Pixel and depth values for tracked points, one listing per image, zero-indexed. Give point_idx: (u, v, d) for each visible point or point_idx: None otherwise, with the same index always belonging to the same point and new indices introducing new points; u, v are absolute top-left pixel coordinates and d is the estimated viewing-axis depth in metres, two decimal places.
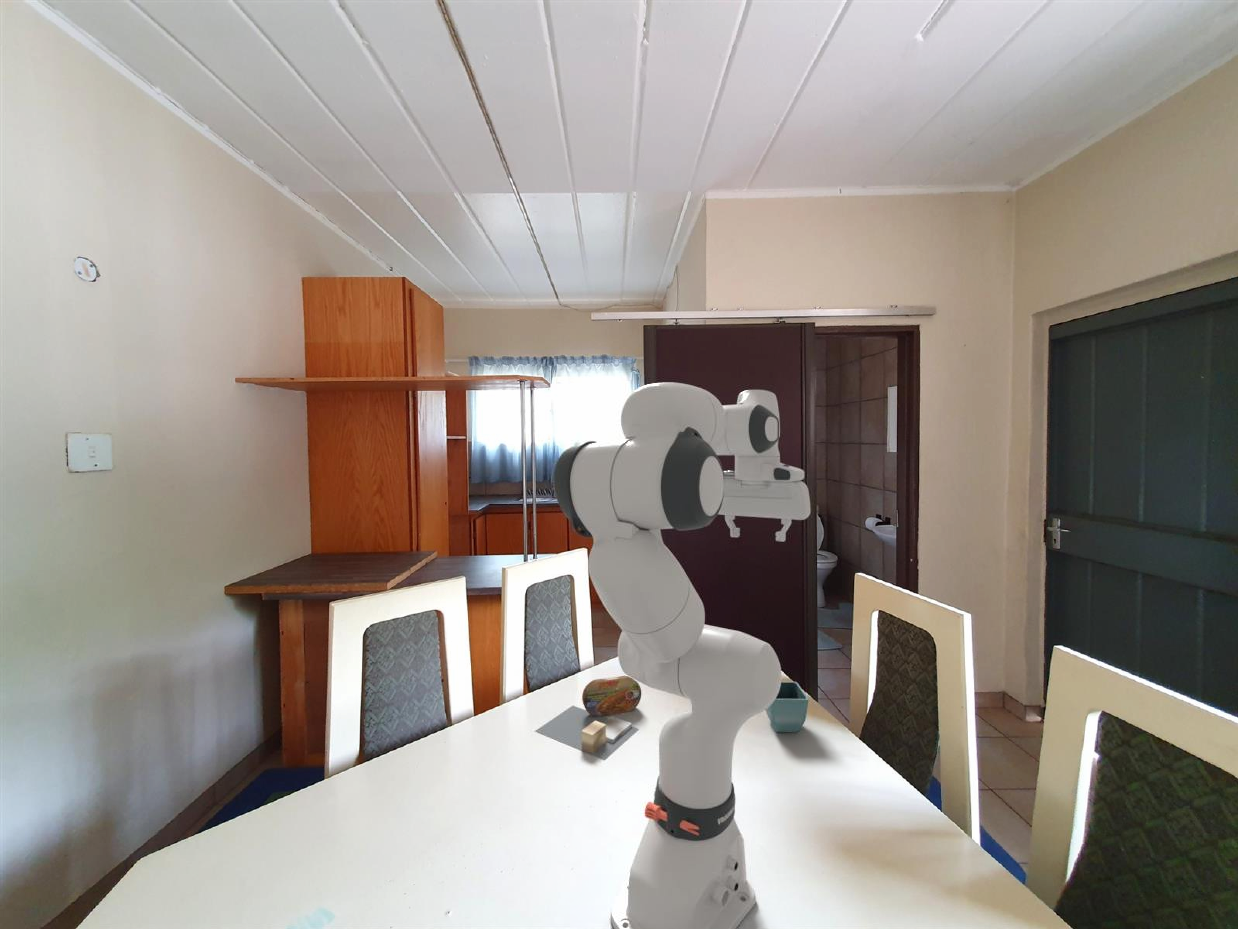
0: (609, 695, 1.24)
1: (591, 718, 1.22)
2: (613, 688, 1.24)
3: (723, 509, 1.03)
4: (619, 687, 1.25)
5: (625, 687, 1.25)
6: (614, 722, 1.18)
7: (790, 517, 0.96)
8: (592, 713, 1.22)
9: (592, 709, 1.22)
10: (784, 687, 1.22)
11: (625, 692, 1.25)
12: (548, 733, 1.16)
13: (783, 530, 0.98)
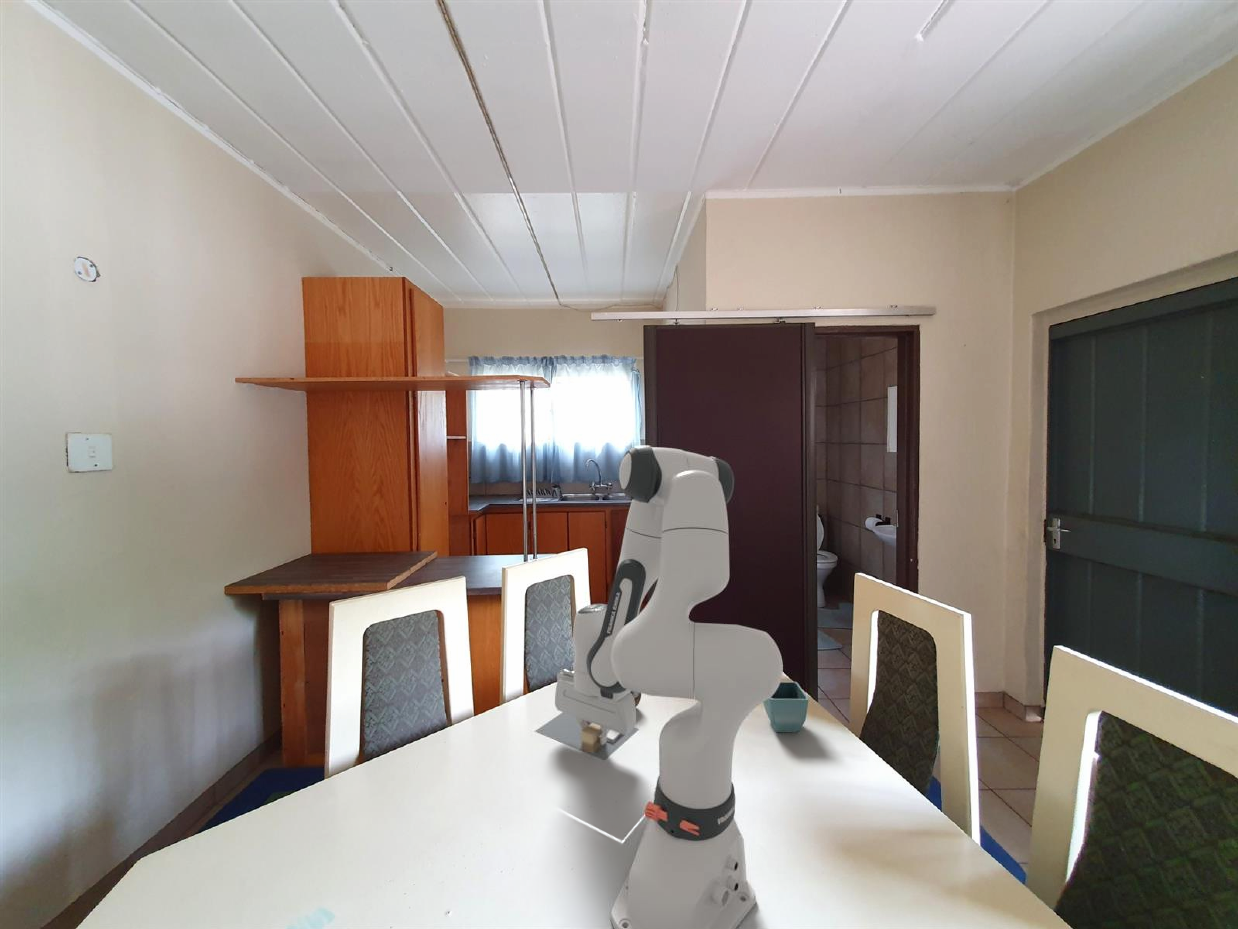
0: None
1: None
2: None
3: (565, 708, 1.12)
4: None
5: None
6: None
7: (615, 730, 1.05)
8: None
9: None
10: (784, 687, 1.22)
11: None
12: (548, 733, 1.16)
13: (602, 735, 1.08)
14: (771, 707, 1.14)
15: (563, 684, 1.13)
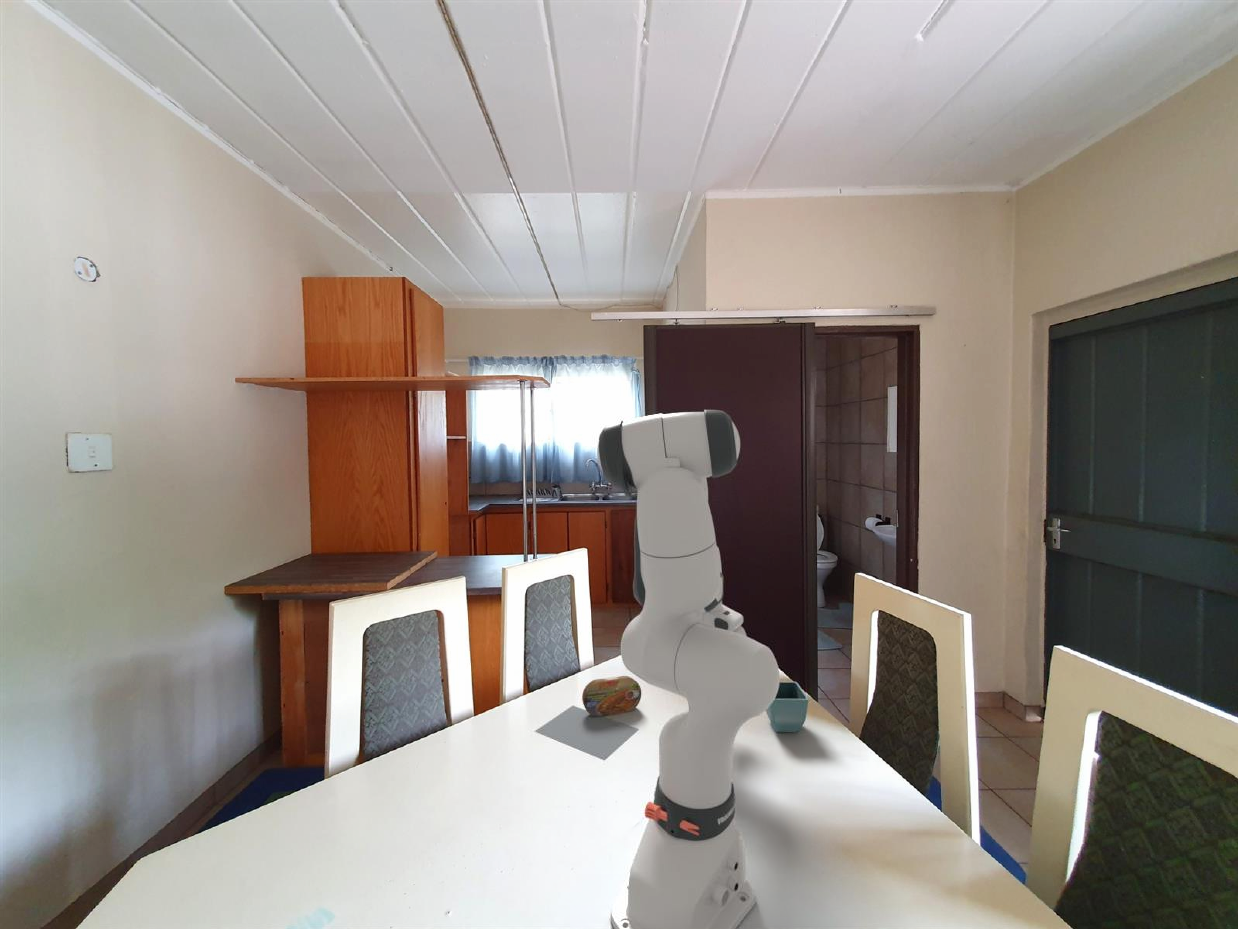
0: (609, 695, 1.24)
1: (591, 718, 1.22)
2: (613, 688, 1.24)
3: None
4: (619, 687, 1.25)
5: (625, 687, 1.25)
6: None
7: None
8: (592, 713, 1.22)
9: (592, 709, 1.22)
10: (784, 687, 1.22)
11: (625, 692, 1.25)
12: (548, 733, 1.16)
13: None
14: (771, 707, 1.14)
15: None
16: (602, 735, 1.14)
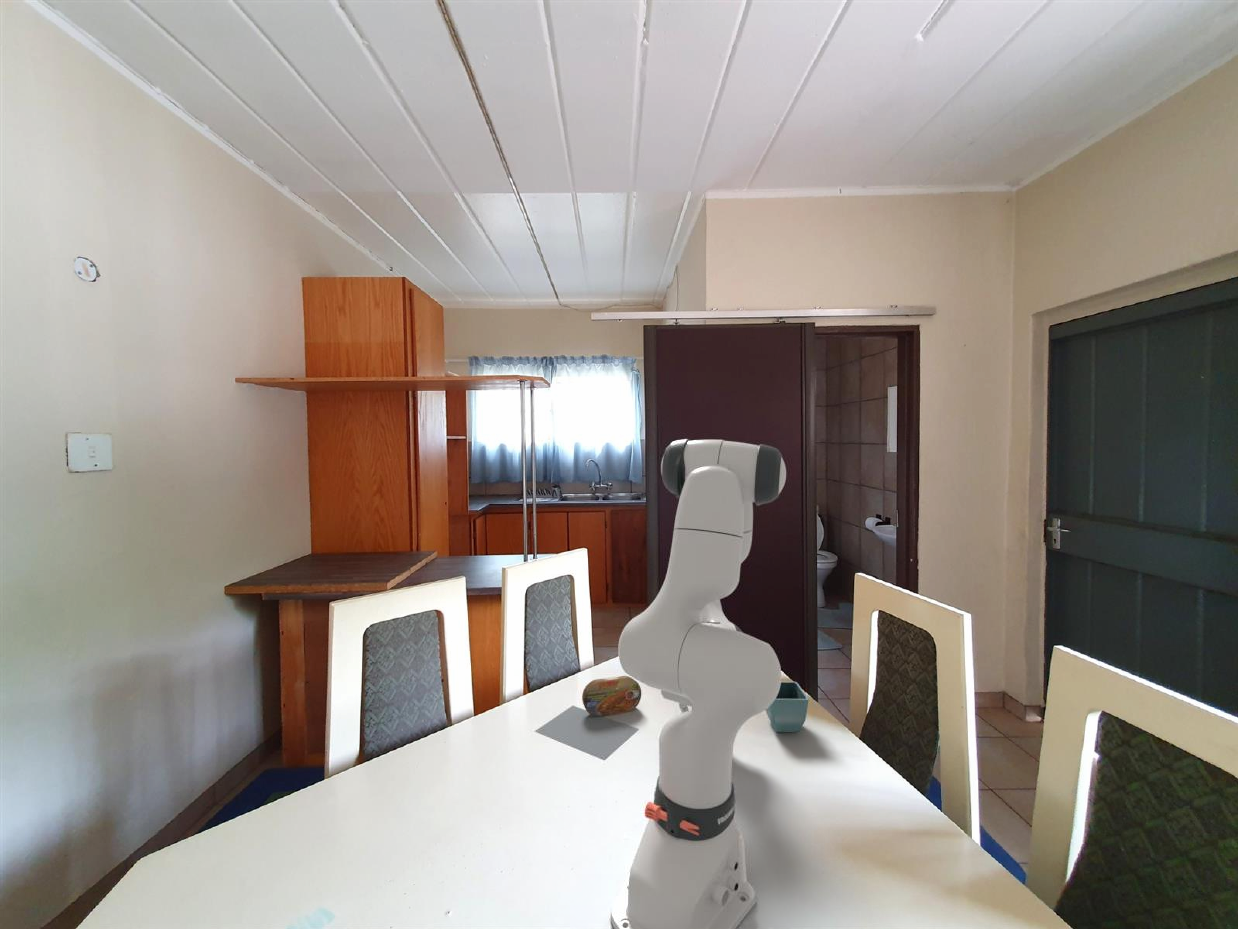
0: (609, 695, 1.24)
1: (591, 718, 1.22)
2: (613, 688, 1.24)
3: (673, 696, 1.15)
4: (619, 687, 1.25)
5: (625, 687, 1.25)
6: None
7: None
8: (592, 713, 1.22)
9: (592, 709, 1.22)
10: (784, 687, 1.22)
11: (625, 692, 1.25)
12: (548, 733, 1.16)
13: None
14: (771, 707, 1.14)
15: None
16: (602, 735, 1.14)
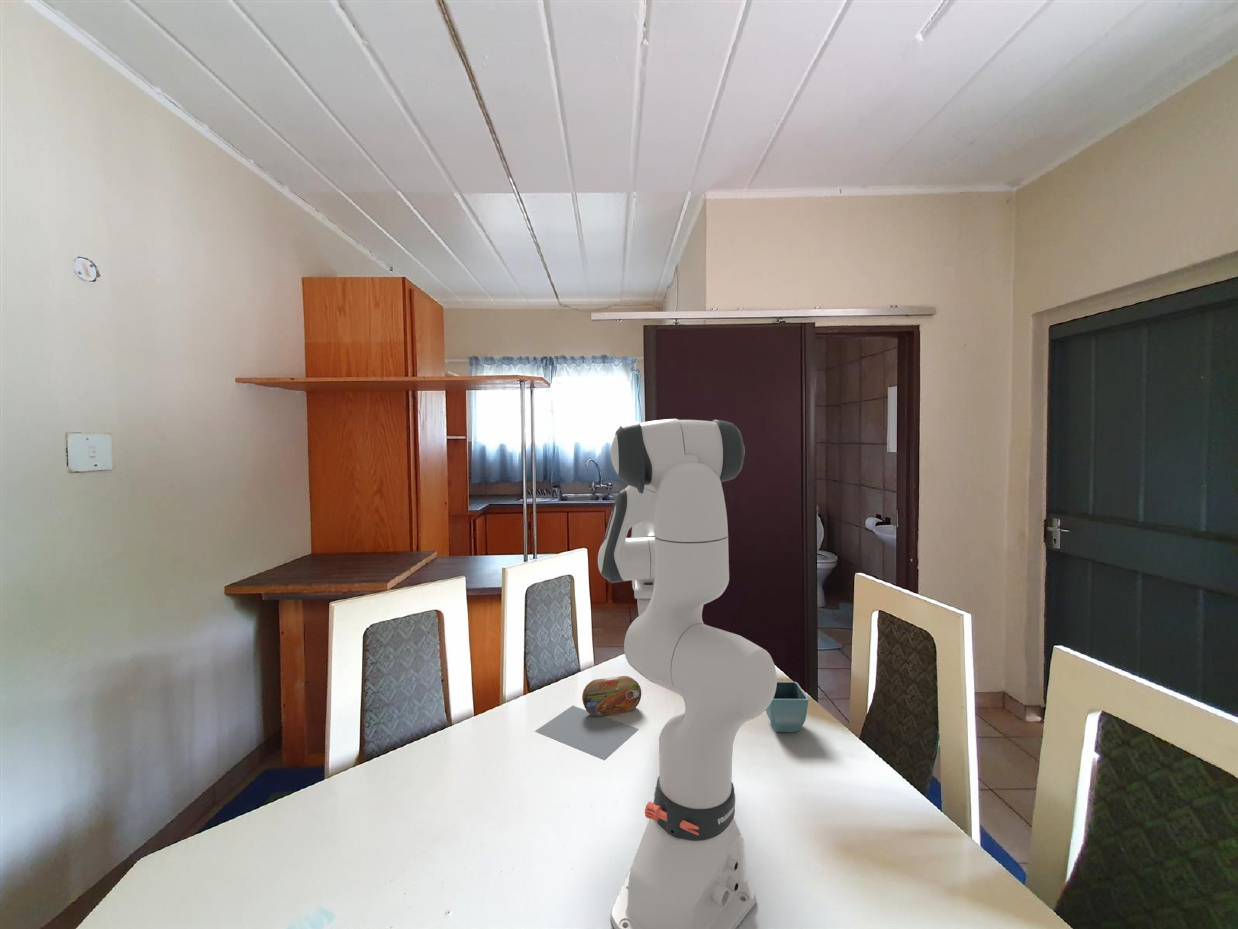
0: (609, 695, 1.24)
1: (591, 718, 1.22)
2: (613, 688, 1.24)
3: None
4: (619, 687, 1.25)
5: (625, 687, 1.25)
6: None
7: None
8: (592, 713, 1.22)
9: (592, 709, 1.22)
10: (784, 687, 1.22)
11: (625, 692, 1.25)
12: (548, 733, 1.16)
13: None
14: (771, 707, 1.14)
15: None
16: (602, 735, 1.14)
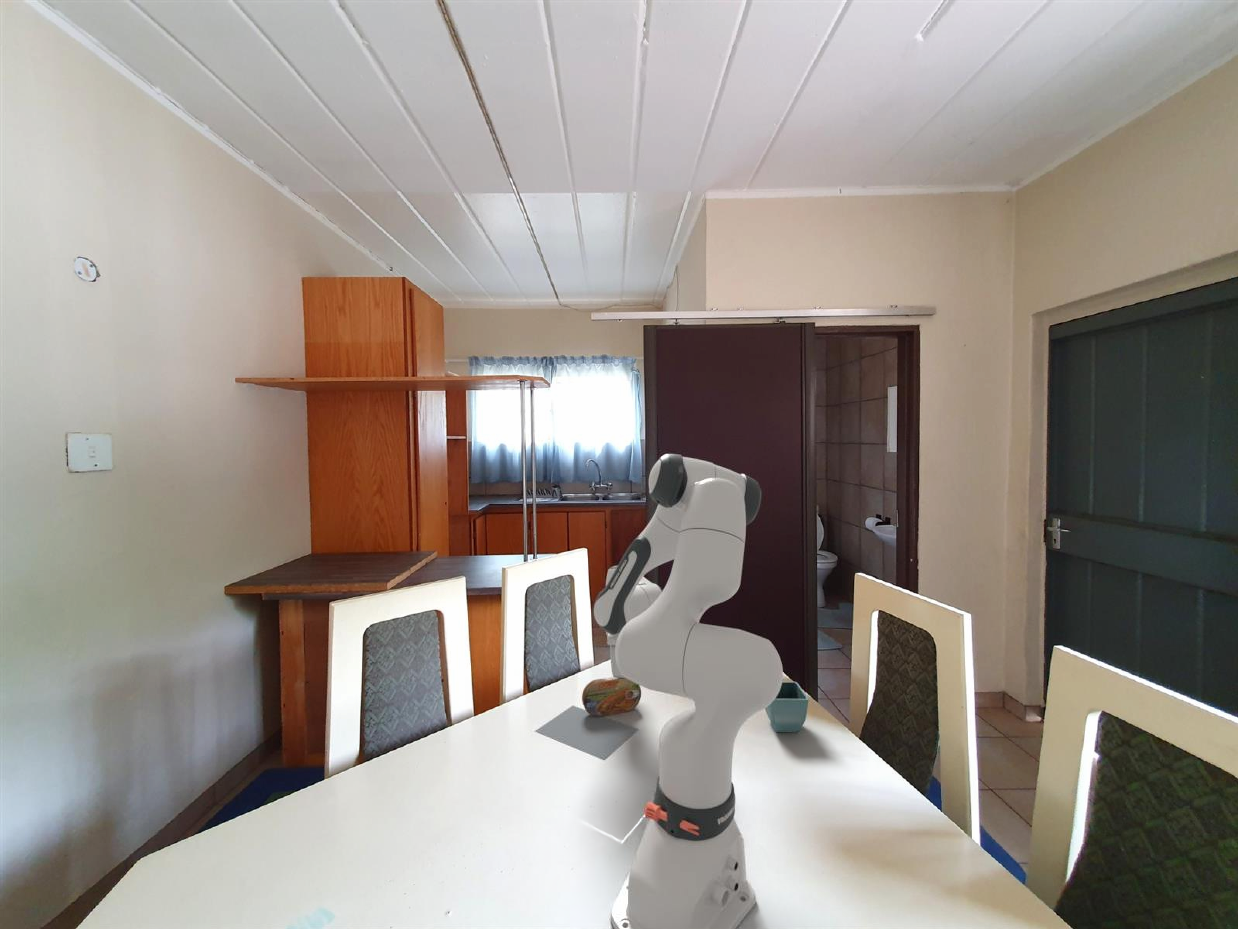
0: (609, 695, 1.24)
1: (591, 718, 1.22)
2: (613, 688, 1.24)
3: None
4: (619, 687, 1.25)
5: (625, 687, 1.25)
6: None
7: None
8: (592, 713, 1.22)
9: (592, 709, 1.22)
10: (784, 687, 1.22)
11: (625, 692, 1.25)
12: (548, 733, 1.16)
13: None
14: (771, 707, 1.14)
15: None
16: (602, 735, 1.14)
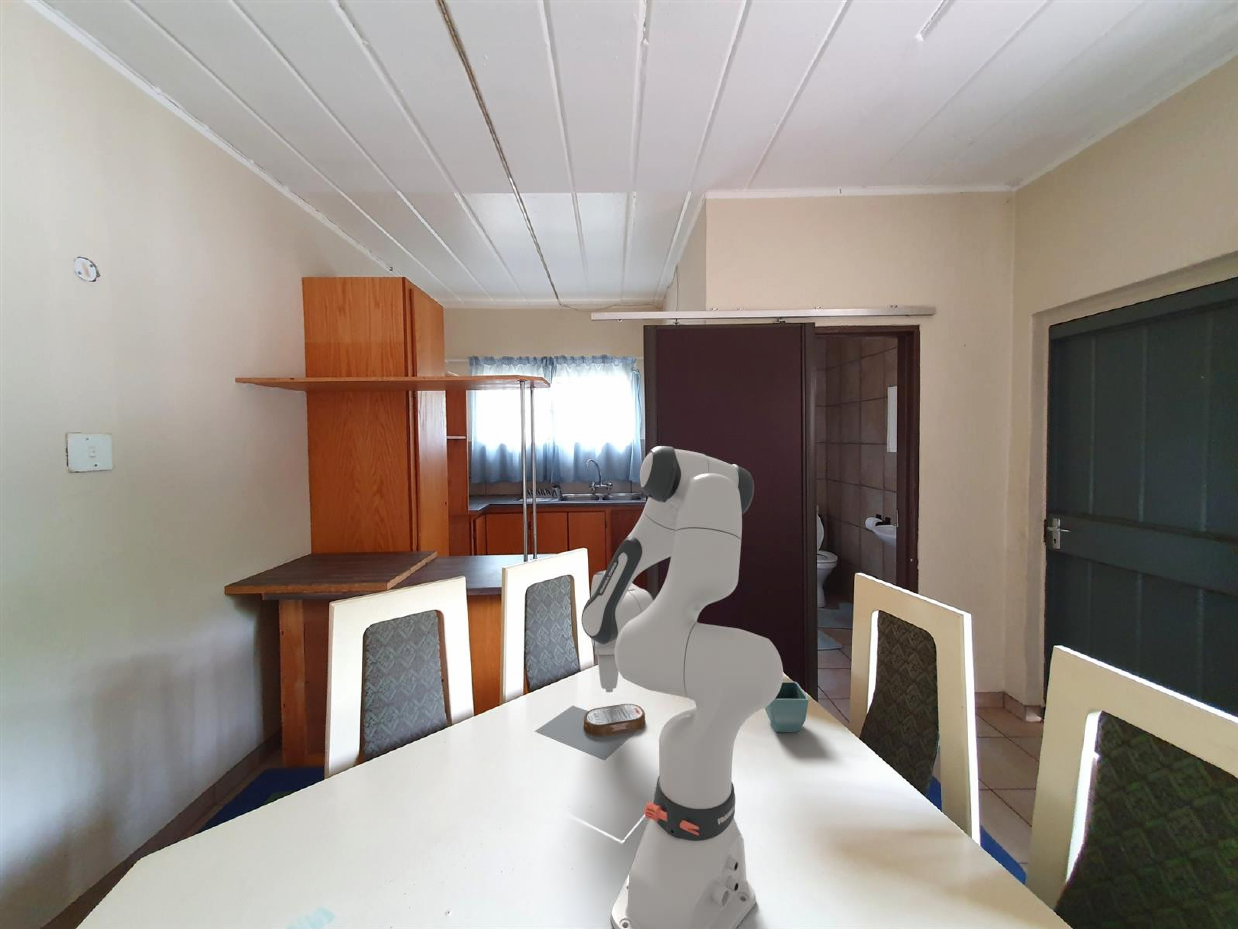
0: None
1: None
2: None
3: None
4: None
5: None
6: None
7: None
8: None
9: None
10: (784, 687, 1.22)
11: None
12: (548, 733, 1.16)
13: None
14: (771, 707, 1.14)
15: None
16: None
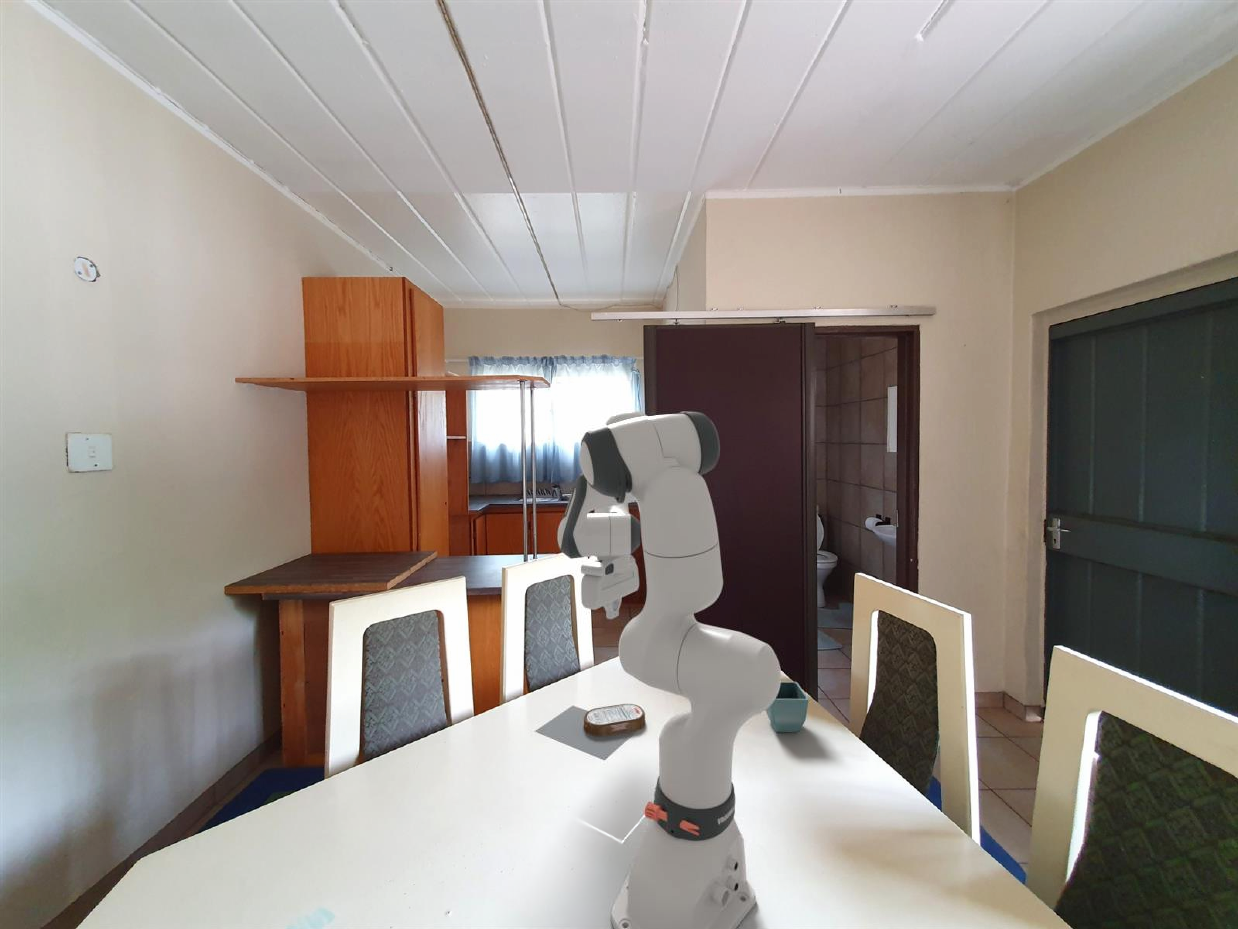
0: None
1: None
2: None
3: None
4: None
5: None
6: None
7: None
8: None
9: None
10: (784, 687, 1.22)
11: None
12: (548, 733, 1.16)
13: None
14: (771, 707, 1.14)
15: None
16: None
